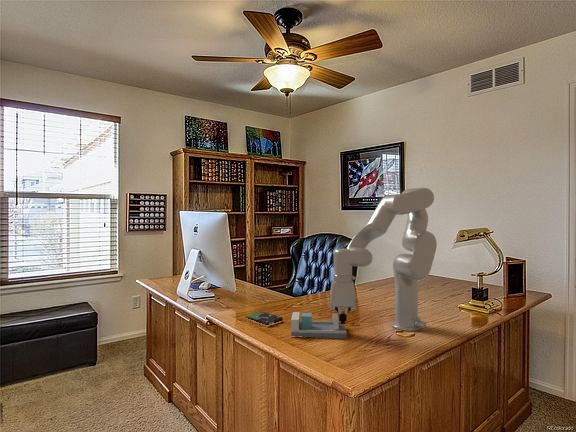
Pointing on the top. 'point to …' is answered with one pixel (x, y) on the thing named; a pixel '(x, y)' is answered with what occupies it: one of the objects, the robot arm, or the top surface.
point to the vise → (316, 328)
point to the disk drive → (264, 318)
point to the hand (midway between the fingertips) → (342, 323)
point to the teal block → (306, 321)
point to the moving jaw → (335, 322)
